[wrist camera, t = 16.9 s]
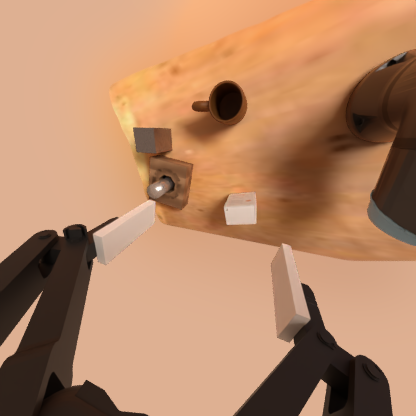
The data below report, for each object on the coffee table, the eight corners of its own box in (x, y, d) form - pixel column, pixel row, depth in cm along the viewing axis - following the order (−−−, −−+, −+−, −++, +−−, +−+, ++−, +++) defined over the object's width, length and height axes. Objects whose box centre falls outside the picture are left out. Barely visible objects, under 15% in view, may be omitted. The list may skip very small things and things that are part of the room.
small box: (231, 209, 53) (225, 225, 44) (229, 193, 51) (222, 206, 42) (257, 208, 50) (256, 224, 41) (255, 191, 48) (254, 204, 39)
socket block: (159, 155, 52) (149, 157, 48) (193, 164, 50) (187, 167, 46) (157, 194, 59) (149, 199, 54) (187, 203, 57) (181, 209, 52)
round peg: (168, 172, 54) (146, 183, 44) (179, 175, 53) (159, 187, 43) (167, 184, 56) (146, 196, 45) (178, 187, 55) (159, 200, 45)
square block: (153, 128, 49) (132, 127, 41) (170, 128, 48) (153, 128, 40) (155, 149, 52) (136, 152, 44) (172, 150, 50) (156, 153, 43)
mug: (202, 126, 45) (189, 125, 37) (201, 93, 42) (186, 84, 34) (246, 124, 42) (243, 122, 34) (248, 88, 39) (245, 77, 30)
